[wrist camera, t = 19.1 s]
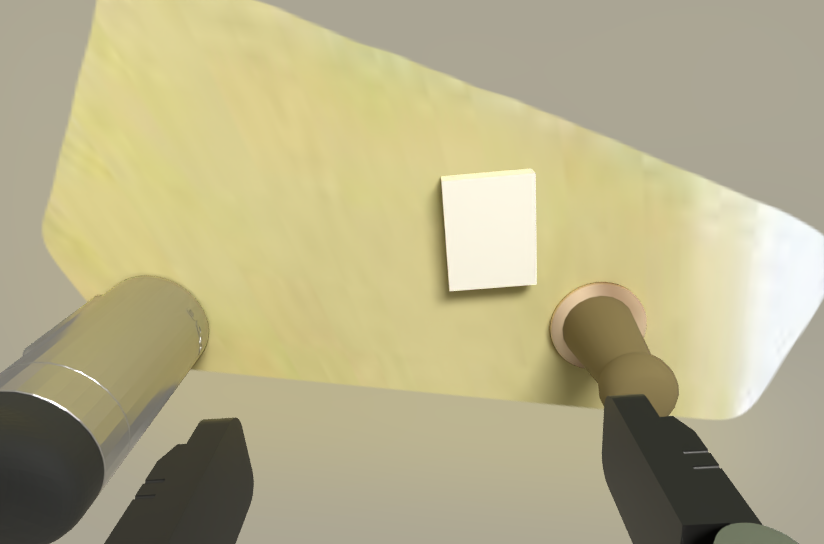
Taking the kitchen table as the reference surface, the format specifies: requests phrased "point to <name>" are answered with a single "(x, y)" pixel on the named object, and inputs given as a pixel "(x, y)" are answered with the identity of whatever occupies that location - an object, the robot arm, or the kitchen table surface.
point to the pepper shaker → (618, 353)
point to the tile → (490, 229)
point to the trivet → (583, 294)
